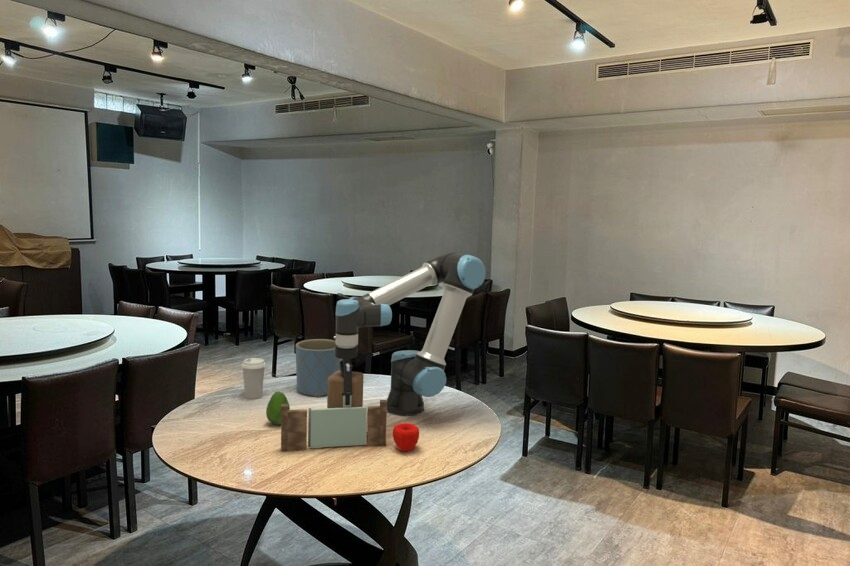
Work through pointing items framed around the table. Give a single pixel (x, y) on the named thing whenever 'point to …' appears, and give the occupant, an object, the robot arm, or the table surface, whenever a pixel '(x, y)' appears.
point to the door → (337, 427)
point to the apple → (406, 436)
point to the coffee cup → (253, 377)
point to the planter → (315, 365)
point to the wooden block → (337, 389)
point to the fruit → (276, 407)
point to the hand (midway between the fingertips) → (345, 406)
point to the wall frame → (297, 427)
